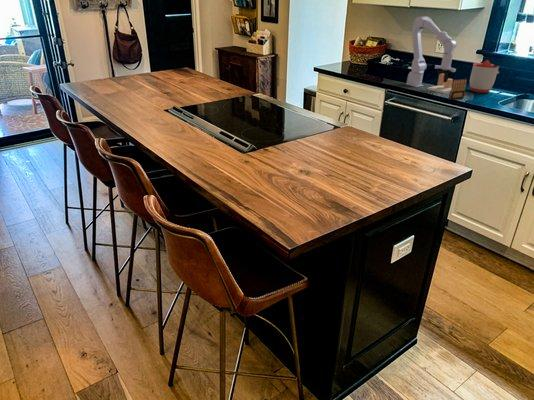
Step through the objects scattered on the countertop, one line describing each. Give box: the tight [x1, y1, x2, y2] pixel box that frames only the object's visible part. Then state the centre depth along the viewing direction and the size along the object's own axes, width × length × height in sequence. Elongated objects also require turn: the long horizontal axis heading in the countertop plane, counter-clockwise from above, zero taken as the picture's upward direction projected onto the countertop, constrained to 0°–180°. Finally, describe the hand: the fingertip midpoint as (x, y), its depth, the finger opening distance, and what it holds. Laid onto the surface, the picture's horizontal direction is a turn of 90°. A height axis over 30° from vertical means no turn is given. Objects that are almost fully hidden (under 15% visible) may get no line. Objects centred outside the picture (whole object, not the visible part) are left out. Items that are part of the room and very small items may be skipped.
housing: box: [427, 77, 454, 95], centre depth 279 cm, size 13×14×7 cm
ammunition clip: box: [448, 78, 467, 101], centre depth 258 cm, size 11×2×12 cm, turn 113°
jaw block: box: [436, 73, 446, 86], centre depth 276 cm, size 4×4×7 cm
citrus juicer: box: [469, 59, 500, 94], centre depth 277 cm, size 16×17×20 cm
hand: (442, 81), depth 277 cm, fingers closed on jaw block, 3 cm apart
